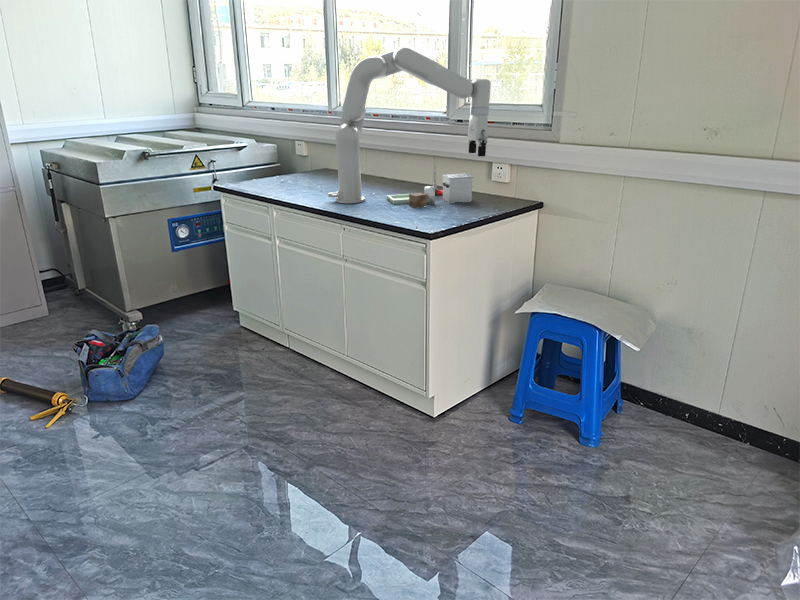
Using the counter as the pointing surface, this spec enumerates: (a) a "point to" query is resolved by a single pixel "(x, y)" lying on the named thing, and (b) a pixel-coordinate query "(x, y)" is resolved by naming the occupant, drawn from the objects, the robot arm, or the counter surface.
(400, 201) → the tray
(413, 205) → the walnut block
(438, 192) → the red base rod stand
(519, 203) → the counter surface
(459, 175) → the control box
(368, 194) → the counter surface
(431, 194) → the spacer
